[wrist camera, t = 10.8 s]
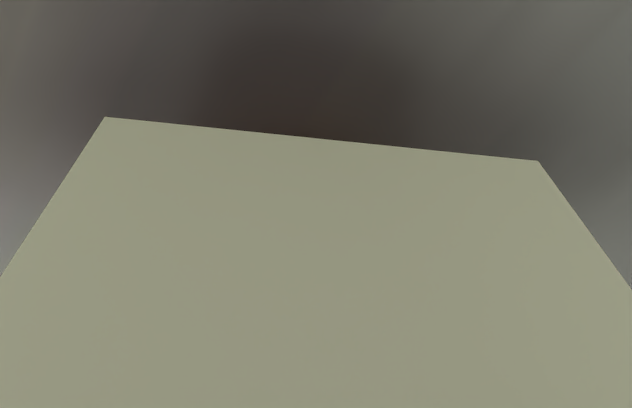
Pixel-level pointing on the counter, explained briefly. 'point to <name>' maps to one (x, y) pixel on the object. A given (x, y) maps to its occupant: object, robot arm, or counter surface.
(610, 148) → the counter surface
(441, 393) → the sage green cuboid
